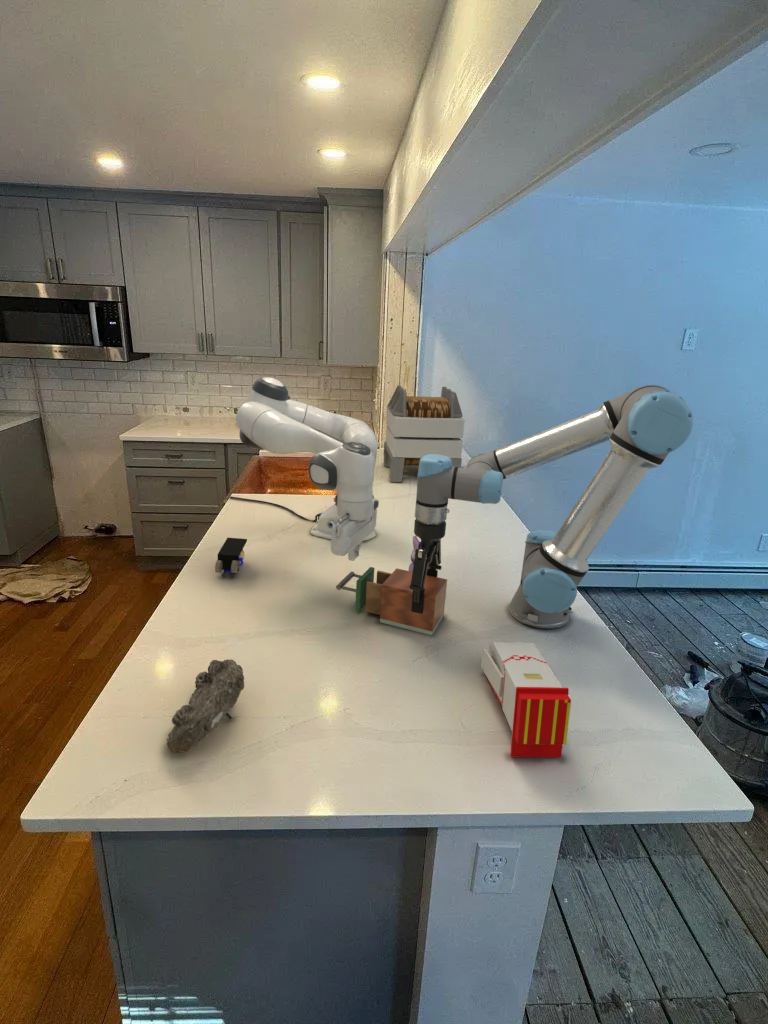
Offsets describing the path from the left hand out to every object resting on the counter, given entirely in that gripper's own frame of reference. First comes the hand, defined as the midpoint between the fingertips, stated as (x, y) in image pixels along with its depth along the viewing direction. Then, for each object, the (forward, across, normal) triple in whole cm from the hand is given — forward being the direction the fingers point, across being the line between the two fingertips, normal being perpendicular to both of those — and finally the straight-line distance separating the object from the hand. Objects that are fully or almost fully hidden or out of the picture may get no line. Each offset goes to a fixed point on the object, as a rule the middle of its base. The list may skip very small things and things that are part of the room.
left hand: (353, 558), depth 146 cm
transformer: (+13, +132, +24) cm, 135 cm away
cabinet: (+14, 0, -17) cm, 22 cm away
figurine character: (+14, +4, +41) cm, 43 cm away
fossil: (+14, -51, +6) cm, 53 cm away
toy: (+14, -24, -47) cm, 55 cm away
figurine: (+14, +19, -13) cm, 27 cm away
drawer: (+12, 0, -6) cm, 14 cm away
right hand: (+8, 0, -20) cm, 21 cm away
